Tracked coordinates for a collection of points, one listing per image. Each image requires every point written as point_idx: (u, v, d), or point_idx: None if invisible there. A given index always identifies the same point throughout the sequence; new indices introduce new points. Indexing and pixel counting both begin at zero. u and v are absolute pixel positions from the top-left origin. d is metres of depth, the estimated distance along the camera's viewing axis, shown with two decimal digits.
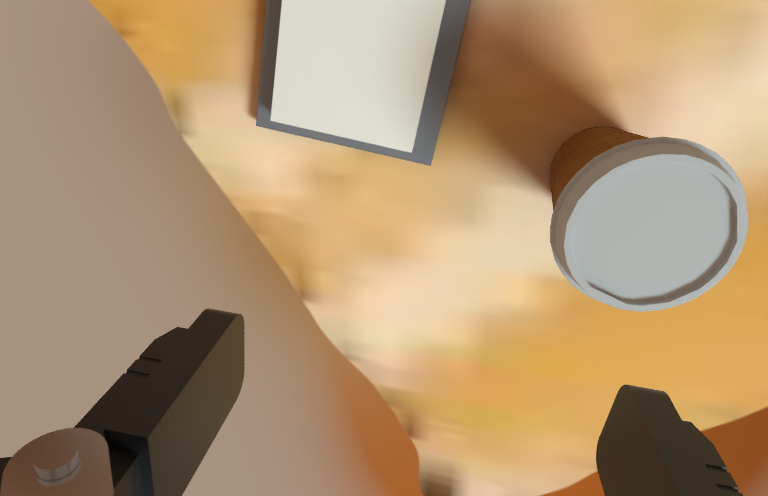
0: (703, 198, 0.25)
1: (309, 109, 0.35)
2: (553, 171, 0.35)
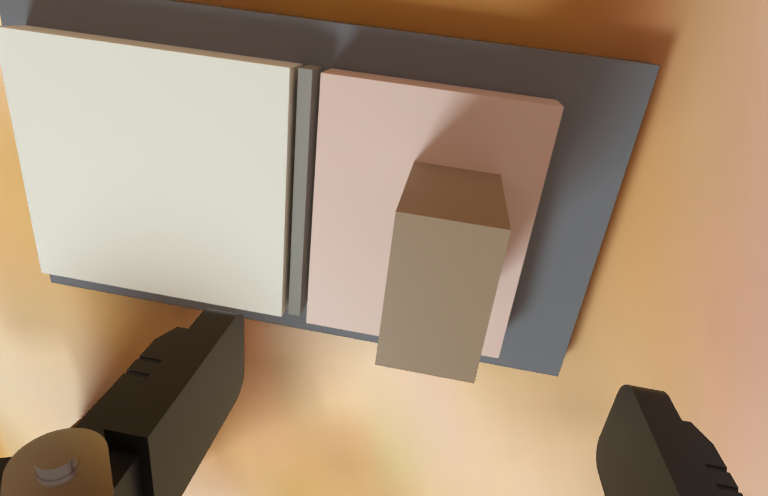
0: None
1: (40, 106, 0.19)
2: None
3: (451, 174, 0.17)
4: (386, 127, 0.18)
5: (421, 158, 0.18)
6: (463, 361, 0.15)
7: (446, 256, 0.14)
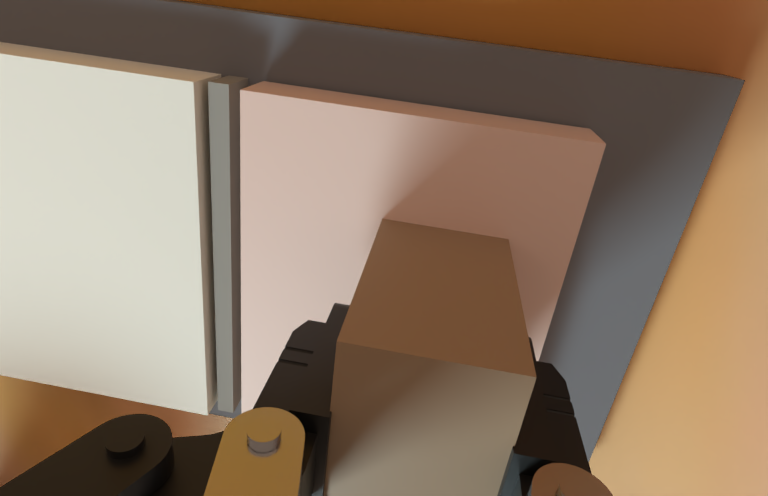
0: None
1: None
2: None
3: (436, 243, 0.11)
4: (340, 170, 0.12)
5: (393, 214, 0.12)
6: None
7: (423, 412, 0.08)
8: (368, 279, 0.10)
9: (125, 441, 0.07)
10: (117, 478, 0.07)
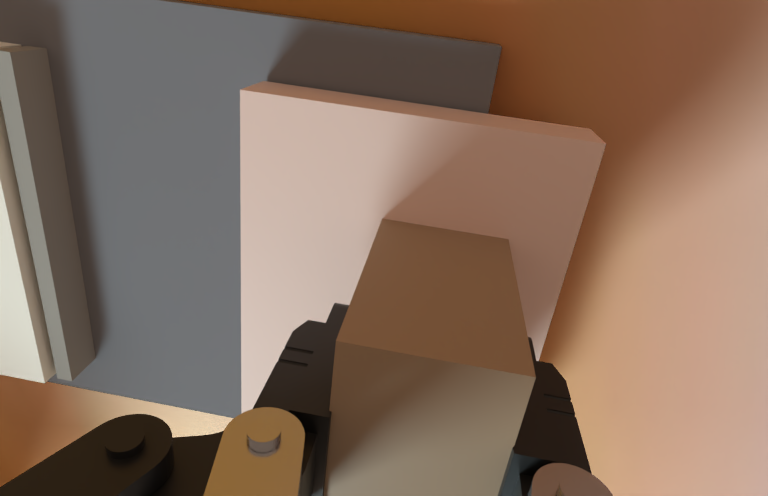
0: None
1: None
2: None
3: (435, 242, 0.11)
4: (340, 170, 0.12)
5: (393, 214, 0.12)
6: None
7: (424, 412, 0.08)
8: (367, 279, 0.10)
9: (125, 441, 0.07)
10: (116, 478, 0.07)
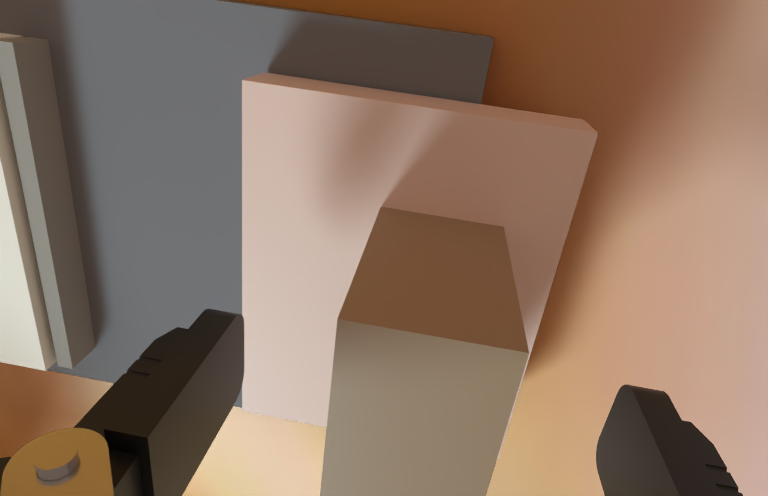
0: None
1: None
2: None
3: (433, 229, 0.12)
4: (340, 159, 0.12)
5: (391, 202, 0.12)
6: None
7: (421, 387, 0.08)
8: (367, 262, 0.10)
9: None
10: None
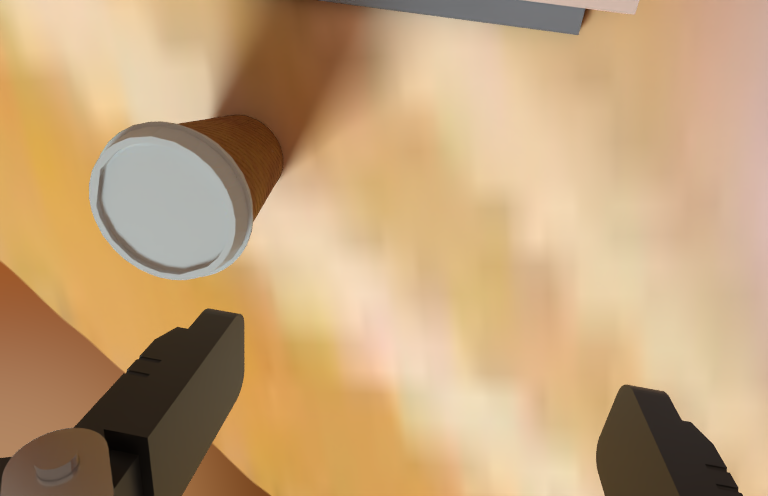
0: (206, 242, 0.30)
1: None
2: (228, 117, 0.36)
3: None
4: None
5: None
6: None
7: None
8: None
9: None
10: None
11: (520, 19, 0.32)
